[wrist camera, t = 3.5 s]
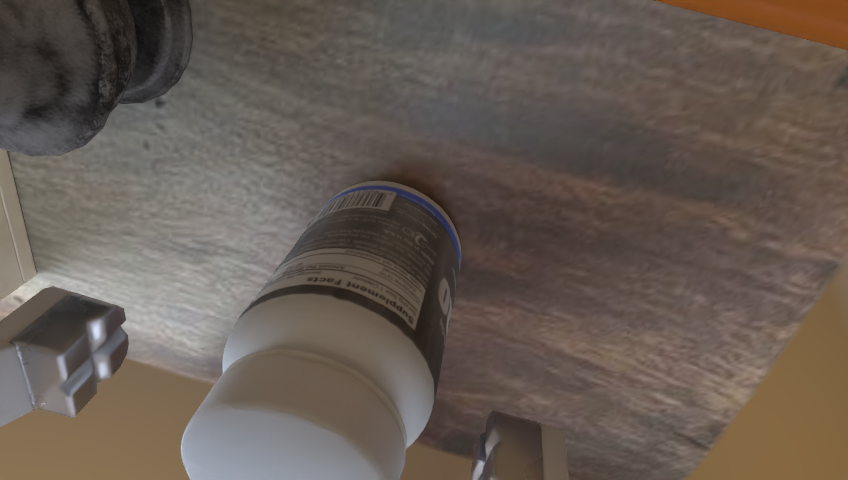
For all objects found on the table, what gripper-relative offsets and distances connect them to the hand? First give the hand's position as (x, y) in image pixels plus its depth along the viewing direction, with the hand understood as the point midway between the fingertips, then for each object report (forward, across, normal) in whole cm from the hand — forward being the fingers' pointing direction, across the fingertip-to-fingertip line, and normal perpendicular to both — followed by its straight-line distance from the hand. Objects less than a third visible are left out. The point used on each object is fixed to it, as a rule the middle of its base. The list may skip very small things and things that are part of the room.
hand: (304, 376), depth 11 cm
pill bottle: (+6, -1, 0) cm, 6 cm away
